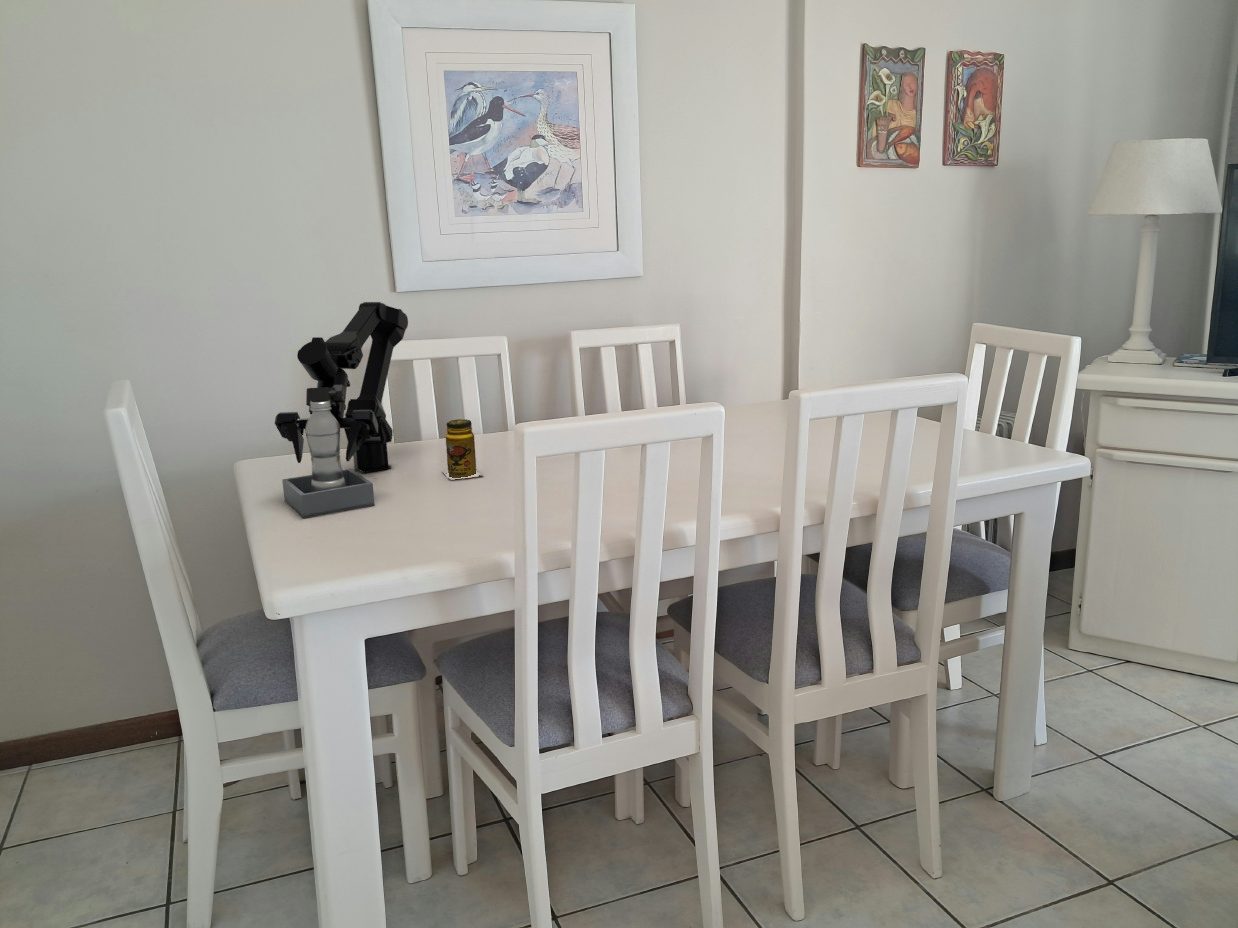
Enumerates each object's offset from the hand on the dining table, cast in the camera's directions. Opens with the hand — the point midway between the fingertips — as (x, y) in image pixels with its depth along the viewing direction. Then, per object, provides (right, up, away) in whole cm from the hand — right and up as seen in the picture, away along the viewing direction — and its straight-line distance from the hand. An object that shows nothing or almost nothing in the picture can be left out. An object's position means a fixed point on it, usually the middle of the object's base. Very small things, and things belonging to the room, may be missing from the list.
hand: (322, 461), depth 178 cm
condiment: (+23, -3, +23) cm, 33 cm away
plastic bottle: (+1, -8, +3) cm, 9 cm away
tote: (0, -8, +4) cm, 9 cm away
